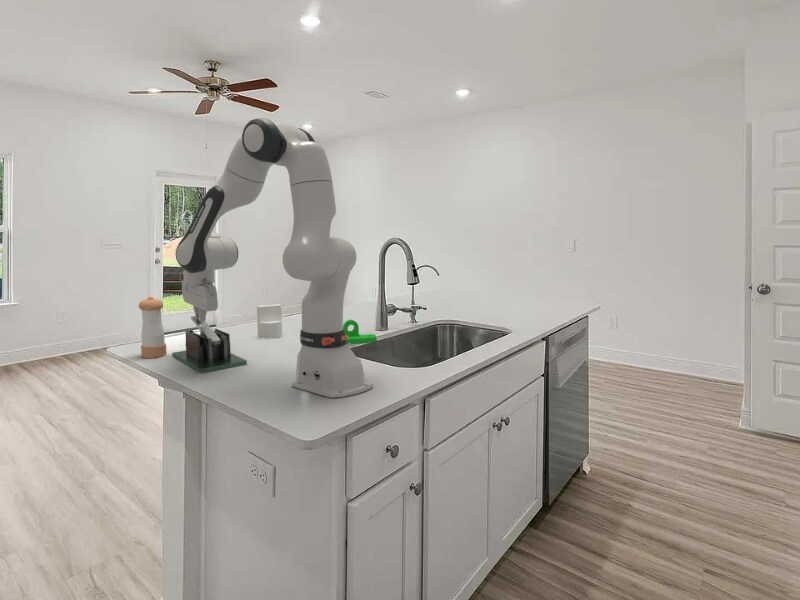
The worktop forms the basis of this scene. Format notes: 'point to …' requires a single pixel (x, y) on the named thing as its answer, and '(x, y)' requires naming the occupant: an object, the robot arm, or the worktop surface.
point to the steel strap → (207, 331)
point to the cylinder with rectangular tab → (269, 321)
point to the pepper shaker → (152, 329)
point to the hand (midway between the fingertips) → (200, 320)
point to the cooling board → (208, 352)
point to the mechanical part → (357, 334)
